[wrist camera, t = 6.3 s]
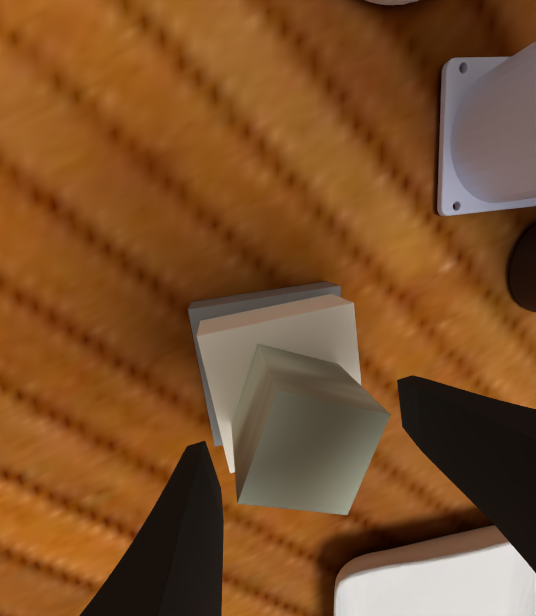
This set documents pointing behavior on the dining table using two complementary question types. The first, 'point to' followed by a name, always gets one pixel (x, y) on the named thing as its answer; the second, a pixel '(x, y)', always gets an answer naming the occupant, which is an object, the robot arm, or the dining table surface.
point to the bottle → (524, 271)
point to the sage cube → (302, 433)
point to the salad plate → (439, 579)
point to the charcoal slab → (242, 304)
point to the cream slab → (278, 334)
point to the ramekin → (391, 2)
